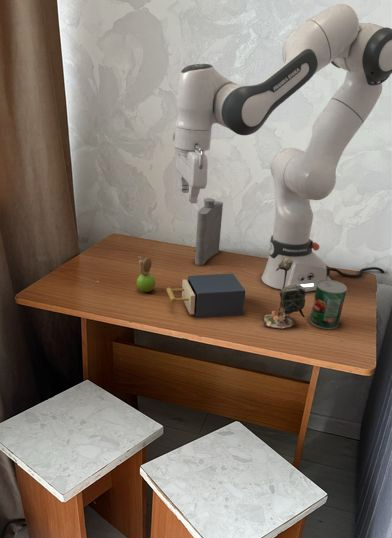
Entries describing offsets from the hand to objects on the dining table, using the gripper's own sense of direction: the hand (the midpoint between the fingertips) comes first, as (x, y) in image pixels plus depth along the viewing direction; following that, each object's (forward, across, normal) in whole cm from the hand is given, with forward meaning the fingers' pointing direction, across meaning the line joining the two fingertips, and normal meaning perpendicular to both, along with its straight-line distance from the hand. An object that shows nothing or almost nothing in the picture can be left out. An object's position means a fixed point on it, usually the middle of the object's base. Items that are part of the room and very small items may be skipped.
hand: (188, 197), depth 128 cm
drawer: (+29, -5, -4) cm, 29 cm away
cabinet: (+29, -5, -8) cm, 31 cm away
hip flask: (+29, +31, -15) cm, 45 cm away
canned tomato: (+29, -18, -36) cm, 50 cm away
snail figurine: (+30, +6, +10) cm, 32 cm away
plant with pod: (+29, -17, -24) cm, 42 cm away
